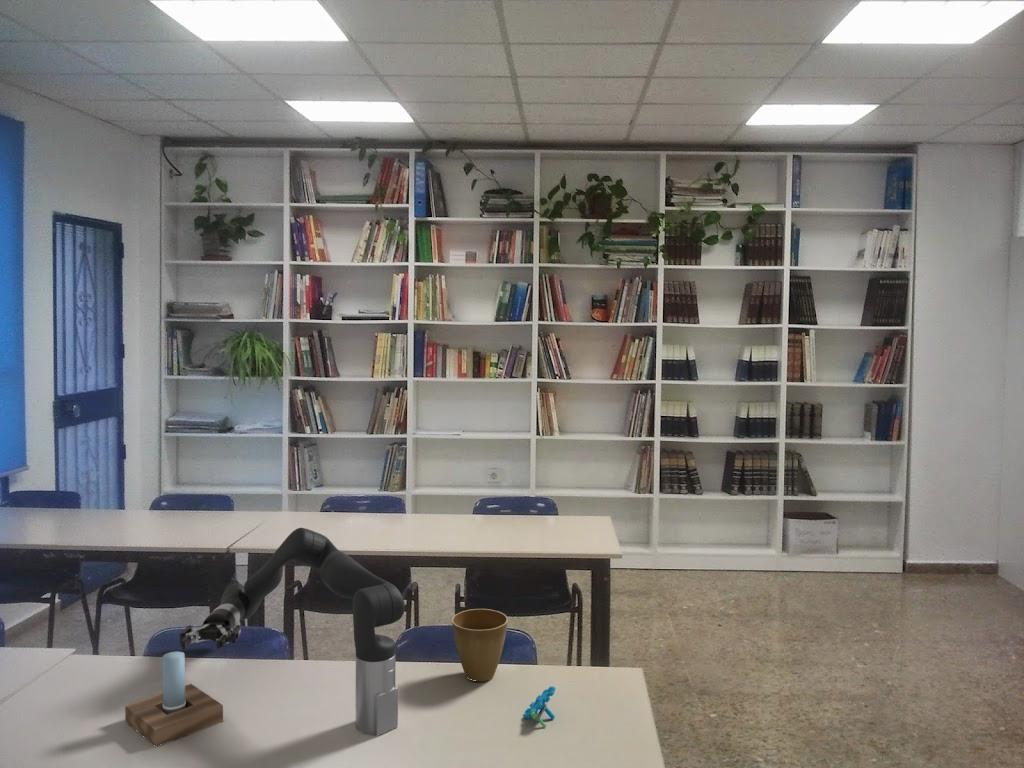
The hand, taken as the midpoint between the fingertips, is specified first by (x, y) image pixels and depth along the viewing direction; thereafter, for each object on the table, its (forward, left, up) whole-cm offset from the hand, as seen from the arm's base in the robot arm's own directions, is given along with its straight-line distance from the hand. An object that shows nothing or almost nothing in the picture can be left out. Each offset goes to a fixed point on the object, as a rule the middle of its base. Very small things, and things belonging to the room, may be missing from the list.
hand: (201, 645), depth 202 cm
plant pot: (-41, -57, -14) cm, 72 cm away
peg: (-7, +10, -14) cm, 18 cm away
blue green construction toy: (-67, -51, -14) cm, 86 cm away
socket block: (-7, +10, -14) cm, 18 cm away
